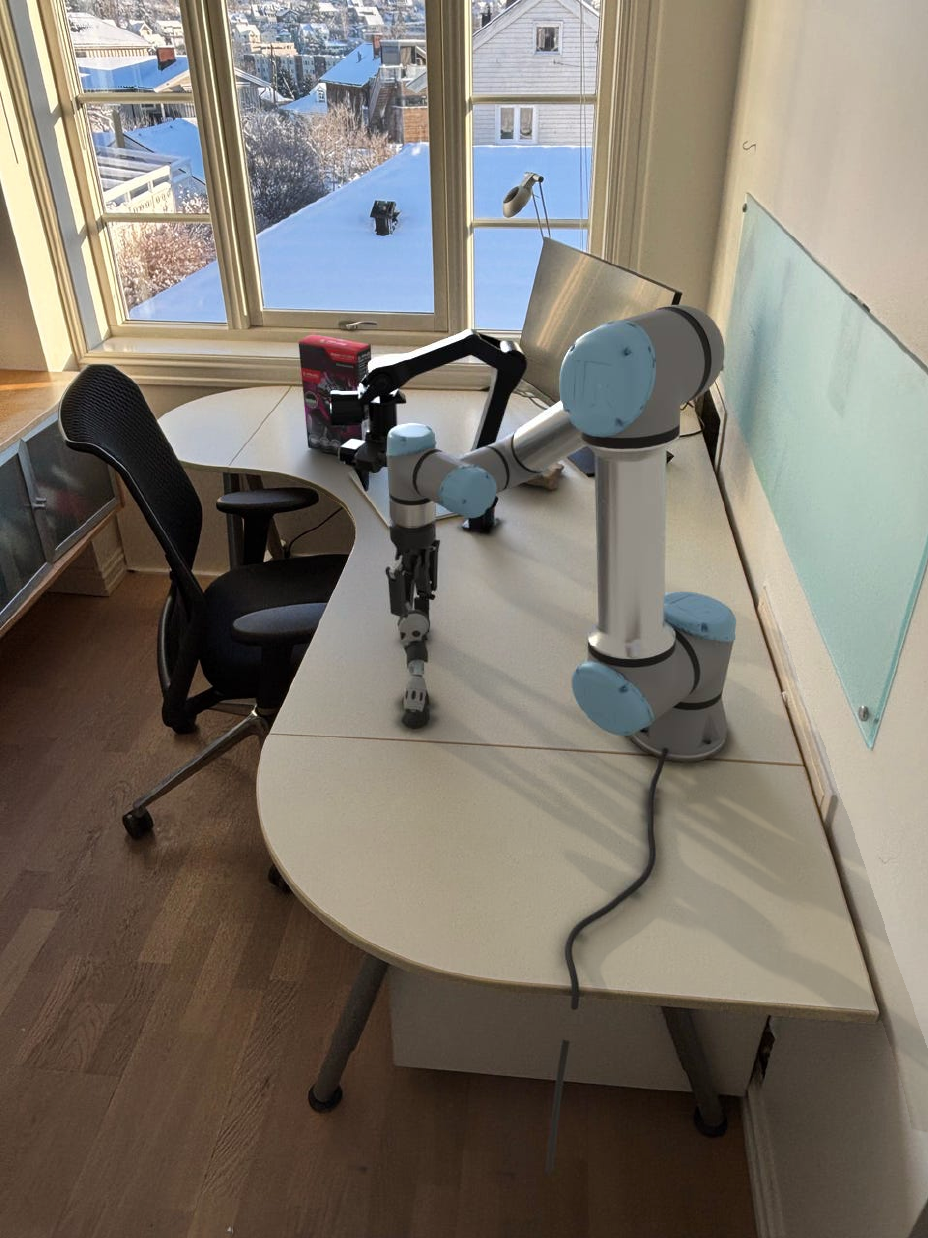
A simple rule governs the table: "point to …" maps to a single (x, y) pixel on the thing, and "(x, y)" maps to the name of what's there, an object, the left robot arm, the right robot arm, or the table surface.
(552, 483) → the stone
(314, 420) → the graphics card box
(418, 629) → the robot
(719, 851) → the table surface
